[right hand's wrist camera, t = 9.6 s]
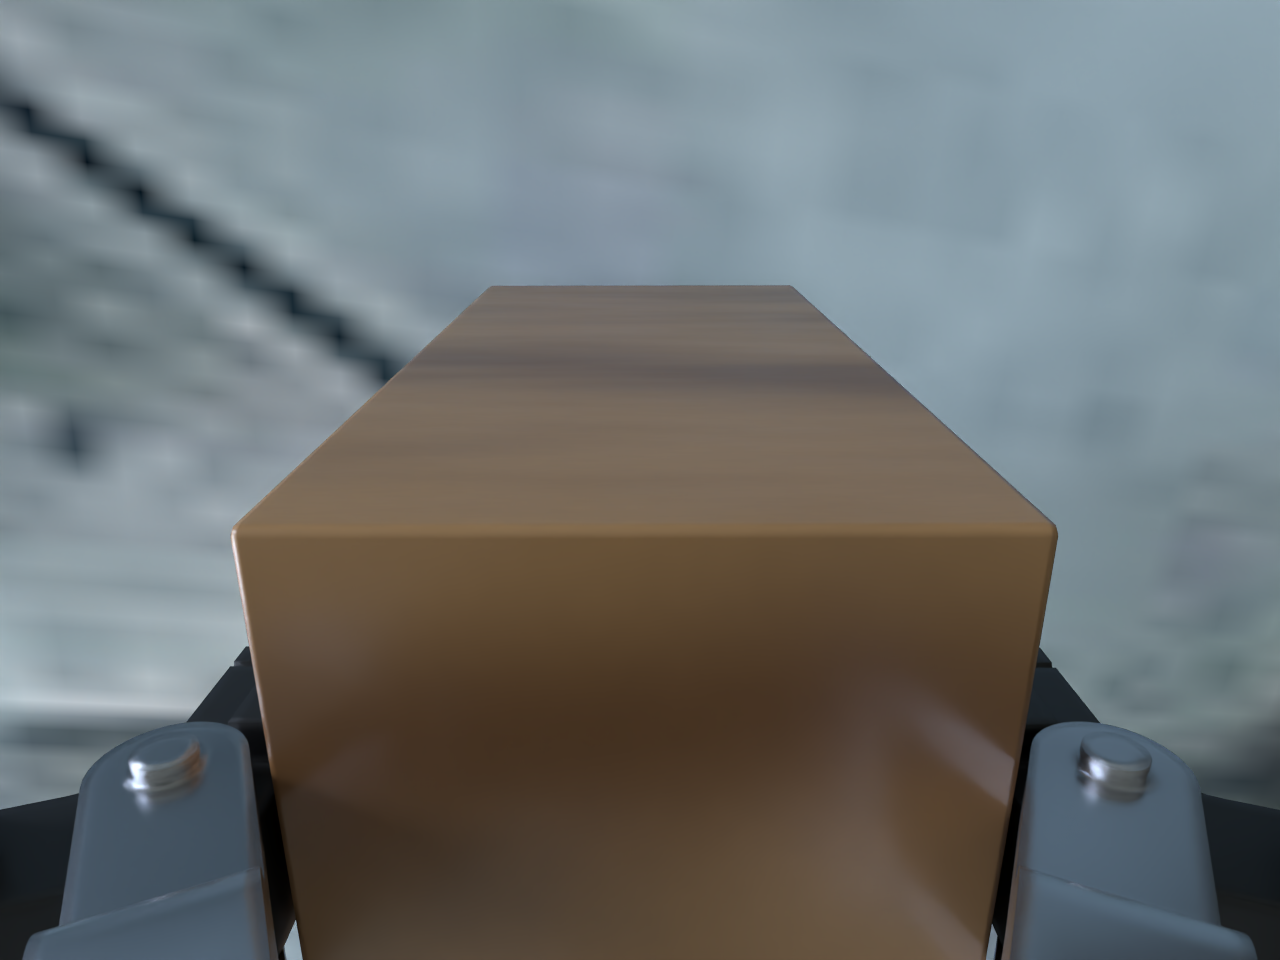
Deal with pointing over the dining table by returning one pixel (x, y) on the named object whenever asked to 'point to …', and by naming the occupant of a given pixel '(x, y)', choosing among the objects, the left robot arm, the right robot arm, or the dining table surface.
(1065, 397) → the dining table surface
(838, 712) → the box
